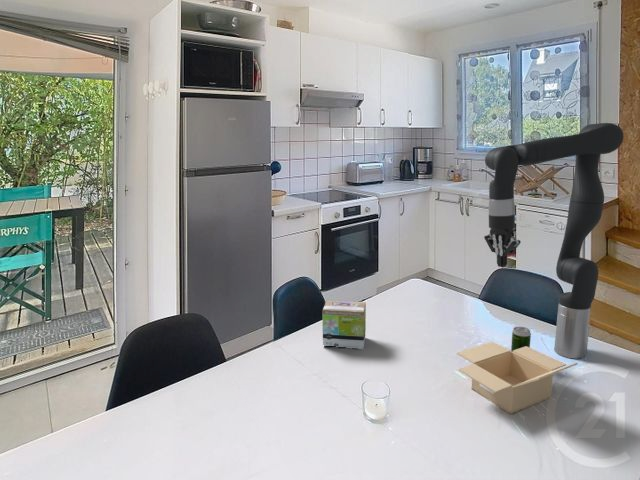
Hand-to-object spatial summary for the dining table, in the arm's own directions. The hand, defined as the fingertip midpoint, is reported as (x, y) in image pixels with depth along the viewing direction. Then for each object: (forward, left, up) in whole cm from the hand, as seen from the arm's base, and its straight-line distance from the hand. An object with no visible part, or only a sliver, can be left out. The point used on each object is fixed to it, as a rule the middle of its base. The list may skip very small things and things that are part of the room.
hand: (501, 266), depth 138 cm
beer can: (-3, +7, -32) cm, 33 cm away
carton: (+13, +13, -32) cm, 37 cm away
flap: (+13, +23, -24) cm, 36 cm away
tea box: (+38, -35, -32) cm, 61 cm away
